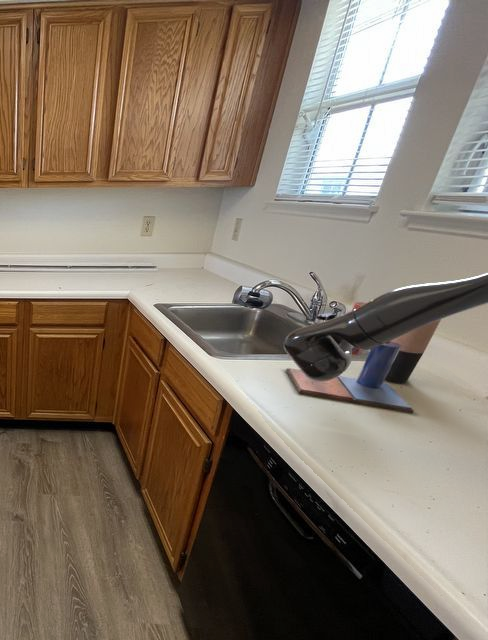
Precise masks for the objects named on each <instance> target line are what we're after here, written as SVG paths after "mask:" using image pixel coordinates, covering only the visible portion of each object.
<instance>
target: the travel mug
mask: <svg viewBox="0 0 488 640" xmlns="http://www.w3.org/2000/svg"><path fill="white" fill-rule="evenodd" d="M441 320H442V319H440V320H437V321H435V322H432V323H430V324H427V325H425V326H422V327H420V328H418V329H415V330H413V331H411V332H409V333H407V334H405V335H402V336H400V337H398V338H396V339H393V340H391V342H395V343H398V344H400V345H401V346H402V347H401V349H400V351H399V352H398V354H397V356H396V358H395V360H394V362H393V364H392V366H391V368H390V370H389V372H388V374H387V376H386V378H385V380H384V382H386V383H387V382H388V383H392V384H399V385H400V384H406V383H407V382H408V380H409V378H410V377H411V375H412V374H413V372H414V370H415V368H416V367H417V365H418V363H420V362H419V361H420V360H421V359H422V356H423V355H424V353H425V352H426V349H427V347H428V345H429V344H430V342H431V340H432V339H433V336H434V334H435V332H436V330H437V329H438V326H439V325H440V323H441Z"/></svg>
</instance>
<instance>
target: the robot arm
mask: <svg viewBox="0 0 488 640" xmlns="http://www.w3.org/2000/svg"><path fill="white" fill-rule="evenodd" d="M365 303H366V304H364V305H362V306H360V307H358V308H357V309H355V310H353V311H352V310H351V311H349V312H346V313H344V314H343V313H341V314H339V315H337V313H335V312H326V313H321V314H317V316H316V318H315V320H314V323H313V324H310V325H306V326H302V327H299V328H297V329H294V330H293V331H292V332H290V333H288V335H286V337H285V338H284V341H283V345H282V347H283V349H284V351H285V352H286V354H287V355H288V356H289V357H290V359H291V360H292V361H293V363H294V364H295V365H296V366H297V368H298V370H301V371H302V373H303V374H304V375H305V376H306V377H307V378H309V379H311V380H313V381H328V380H331V379H334V378H336V377H338V376H341V375H342V374H344V372H345V371H347V370H348V368H349V366H350V365H351V363H352V360H353V354H352V352H353V351H355V350H356V349H361V350H362V351H371V349H373V348H376V347H378V346H380V345H382V344H385V343H386V344H387V343H388V344H389V343H390V341H391V340H393V339H396V338H398V337H400V336H402V335H405V334H407V333H409V332H411V331H413V330H415V329H418V328H420V327H422V326H425V325H427V324H430V323H432V322H435V321H437V320H440V319H441V320H442V319H446V318H448V317H451V316H454V315H457V314H460V313H463V312H466V311H469V310H472V309H475V308H479V307H482V306H485V305H488V272H486V273H481V274H479V275H476V276H472V277H466V278H461V279H455V280H447V281H438V282H427V283H418V284H412V285H407V286H402V287H399V288H396V289H393V290H390V291H387V292H385V293H383V294H381V295H379V296H377V297H375V298H373V299H372V300H369V301H368V302H365Z"/></svg>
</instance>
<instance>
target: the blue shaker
mask: <svg viewBox="0 0 488 640" xmlns="http://www.w3.org/2000/svg"><path fill="white" fill-rule="evenodd" d="M401 347H402V346H401V345H400V344H398V343H395V342H391V341H390V343H389V344H388V343H387V344H386V343H385V344H382V345H380V346H378V347H376V348H373V349H370V350H369V353H368V355H367V357H366V359H365V361H364V364H363V366H362V368H361V369H360V373H359V374H358V376H357V378H356V379H357V380H356V382H357V383H358V384H360V385H363V386H365V387H369V388H376V389H378V388H381V386H382V384H383V383H385V381H384V380H385V378H386V376H387V374H388V372H389V370H390V368H391V366H392V364H393V362H394V360H395V358H396V356H397V354H398V352H399V351H400V349H401Z"/></svg>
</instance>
